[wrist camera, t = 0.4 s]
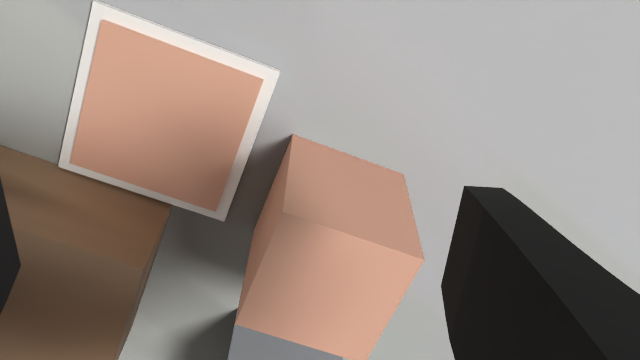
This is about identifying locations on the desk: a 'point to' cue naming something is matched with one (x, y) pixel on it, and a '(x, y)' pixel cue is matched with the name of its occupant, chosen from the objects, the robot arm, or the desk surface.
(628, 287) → the robot arm
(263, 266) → the terracotta block
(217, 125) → the terracotta swatch tile
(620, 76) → the desk surface
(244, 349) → the slate grey block
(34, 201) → the walnut base block
